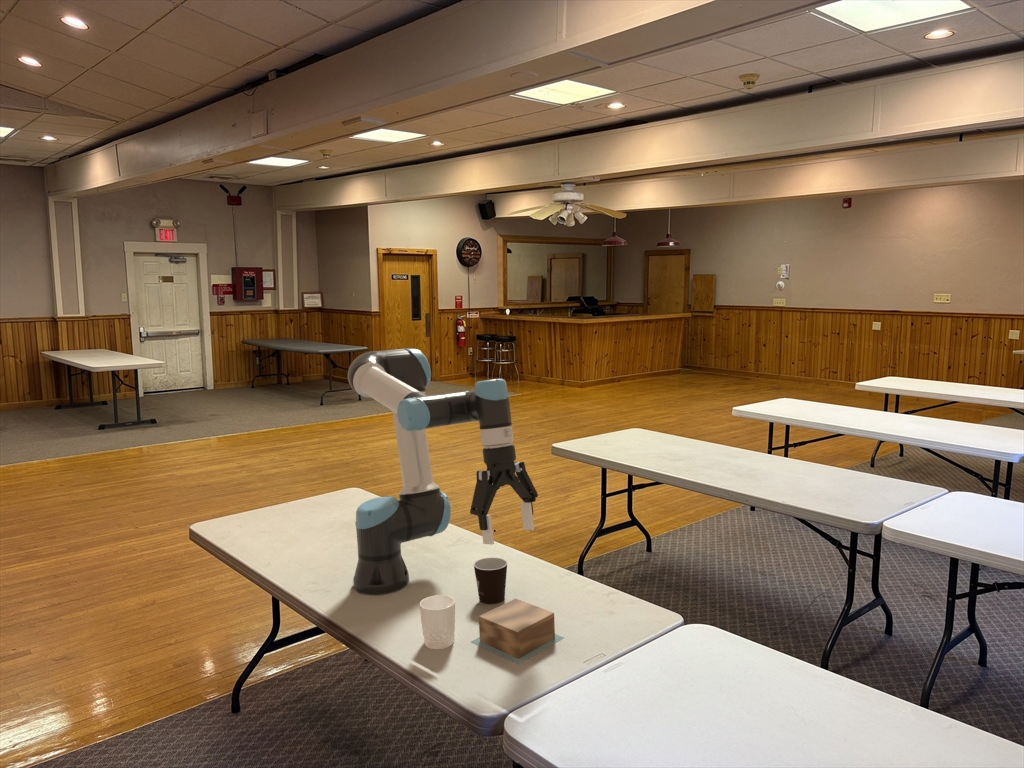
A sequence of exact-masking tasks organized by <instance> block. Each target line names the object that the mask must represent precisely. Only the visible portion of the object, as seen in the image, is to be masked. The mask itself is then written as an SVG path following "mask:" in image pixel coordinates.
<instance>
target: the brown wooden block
mask: <svg viewBox="0 0 1024 768" xmlns="http://www.w3.org/2000/svg"><path fill="white" fill-rule="evenodd" d="M478 627H479V631H478V632H479V637H480V642H482V643H485V644H487V645H489V646H491V647H493V648H496V649H498V650H500V651H502V652H504V653H507V654H509V655H511V656H513V657H516V658H518V659H519V658H521V657H523V656H524V655H526V654H528V653H530V652H531V651H533V650H535V649H537V648H538V647H540V646H542V645H544V644H545V643H547V642H549V641H551V640H552V639H554V638H555V634H556V633H555V632H556V629H555V628H556V627H555V612H553V611H551V610H548V609H546V608H542V607H540V606H538V605H534V604H532V603H529V602H526V601H524V600H520V599H519V598H513V599H512V600H509V601H507V602H505V603H504V604H500V605H499V606H497V607H495V608H492V609H491V610H489V611H486V612H484V613H482V614H480V615H479V616H478Z"/></svg>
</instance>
